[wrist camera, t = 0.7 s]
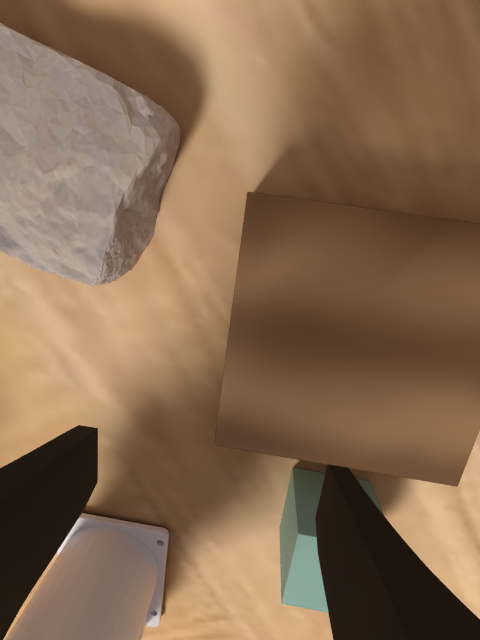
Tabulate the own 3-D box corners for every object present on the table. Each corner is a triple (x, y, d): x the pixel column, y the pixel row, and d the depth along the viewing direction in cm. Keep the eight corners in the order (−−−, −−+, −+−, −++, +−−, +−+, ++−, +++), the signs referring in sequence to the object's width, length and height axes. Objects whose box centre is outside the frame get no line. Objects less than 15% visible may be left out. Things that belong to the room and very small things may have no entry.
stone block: (147, 283, 22) (199, 111, 17) (105, 315, 18) (160, 99, 13) (-26, 200, 22) (-22, 3, 17) (-109, 213, 18) (-135, -44, 13)
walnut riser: (432, 450, 21) (457, 486, 18) (221, 414, 22) (213, 445, 19) (509, 231, 17) (556, 234, 15) (251, 195, 18) (247, 191, 15)
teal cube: (352, 540, 24) (372, 621, 19) (279, 526, 24) (281, 603, 19) (370, 480, 22) (396, 551, 18) (292, 466, 23) (298, 533, 18)
